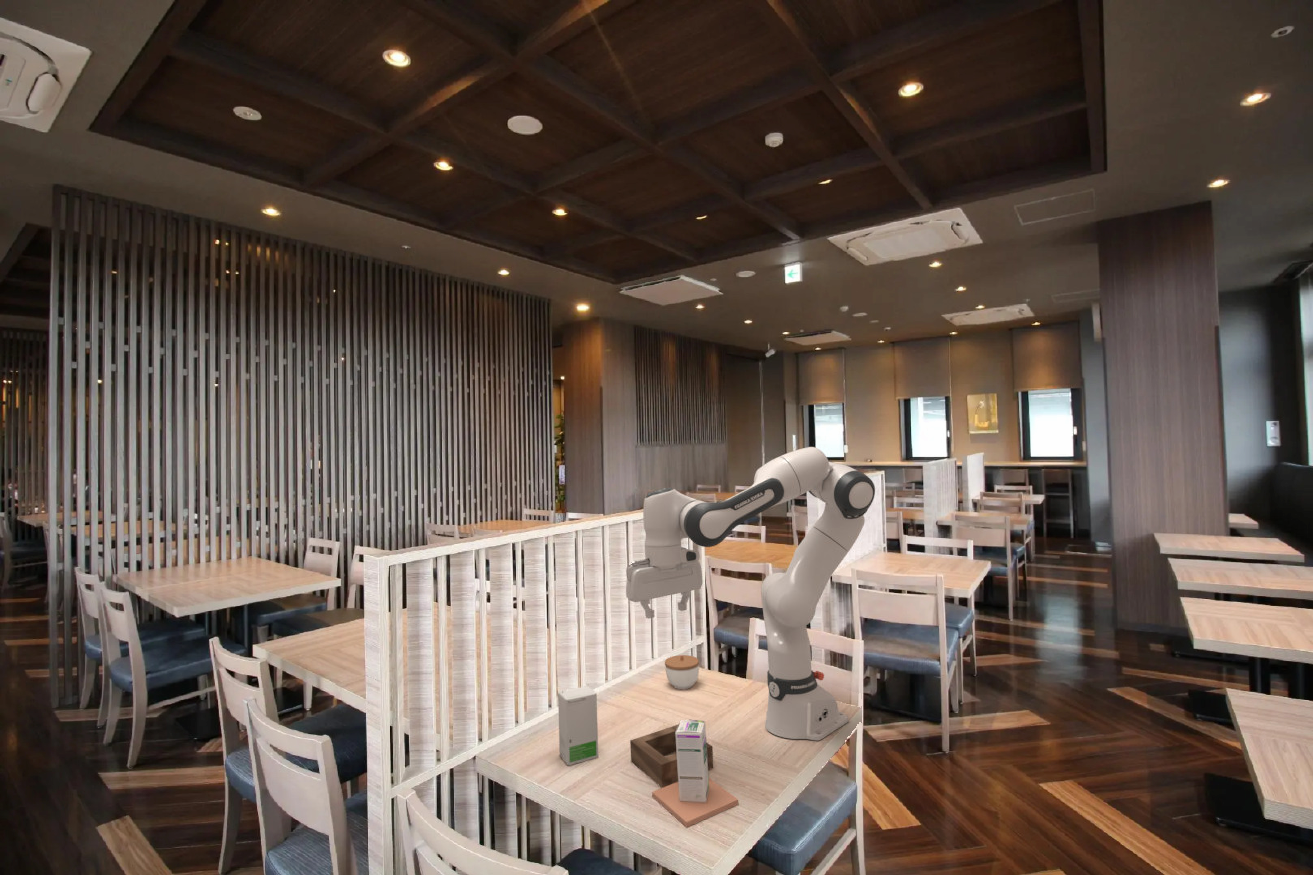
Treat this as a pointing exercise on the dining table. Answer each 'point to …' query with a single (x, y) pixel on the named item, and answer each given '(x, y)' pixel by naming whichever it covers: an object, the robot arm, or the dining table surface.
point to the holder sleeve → (660, 755)
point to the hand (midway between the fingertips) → (666, 613)
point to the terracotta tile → (694, 811)
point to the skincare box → (578, 725)
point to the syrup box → (692, 761)
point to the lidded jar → (682, 671)
